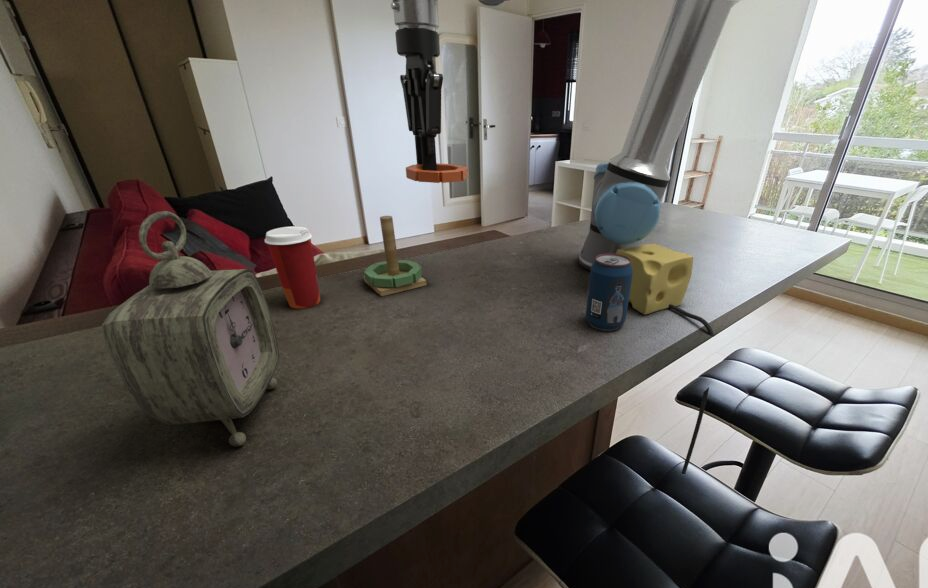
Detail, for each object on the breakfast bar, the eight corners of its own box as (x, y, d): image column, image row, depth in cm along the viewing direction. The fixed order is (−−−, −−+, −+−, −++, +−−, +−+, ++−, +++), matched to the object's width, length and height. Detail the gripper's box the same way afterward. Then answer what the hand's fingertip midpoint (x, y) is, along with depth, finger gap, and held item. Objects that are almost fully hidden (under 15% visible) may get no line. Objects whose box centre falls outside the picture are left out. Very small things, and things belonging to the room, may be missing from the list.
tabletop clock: (250, 456, 46) (160, 232, 34) (159, 466, 44) (31, 237, 32) (290, 379, 58) (234, 196, 46) (220, 385, 57) (144, 199, 45)
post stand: (426, 285, 88) (420, 218, 81) (381, 296, 83) (370, 226, 76) (407, 271, 95) (399, 209, 88) (364, 281, 90) (352, 215, 83)
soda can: (599, 310, 78) (607, 249, 72) (632, 323, 74) (642, 259, 68) (577, 322, 74) (583, 258, 68) (610, 337, 69) (619, 269, 64)
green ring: (429, 279, 87) (429, 271, 86) (378, 291, 81) (376, 283, 81) (407, 264, 95) (406, 256, 94) (359, 274, 89) (357, 266, 88)
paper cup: (333, 295, 83) (318, 226, 77) (313, 312, 77) (295, 238, 70) (296, 293, 84) (278, 224, 77) (273, 310, 77) (251, 236, 71)
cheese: (644, 316, 76) (653, 264, 71) (607, 294, 84) (613, 247, 80) (685, 305, 80) (696, 256, 76) (645, 286, 89) (653, 240, 84)
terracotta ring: (477, 179, 79) (477, 169, 79) (424, 184, 73) (423, 173, 73) (449, 171, 87) (448, 162, 86) (398, 175, 81) (397, 165, 80)
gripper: (380, 31, 75) (395, 168, 87) (415, 22, 65) (426, 178, 76) (418, 35, 79) (427, 166, 91) (457, 27, 69) (461, 175, 80)
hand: (427, 171), depth 83 cm, fingers closed on terracotta ring, 2 cm apart
